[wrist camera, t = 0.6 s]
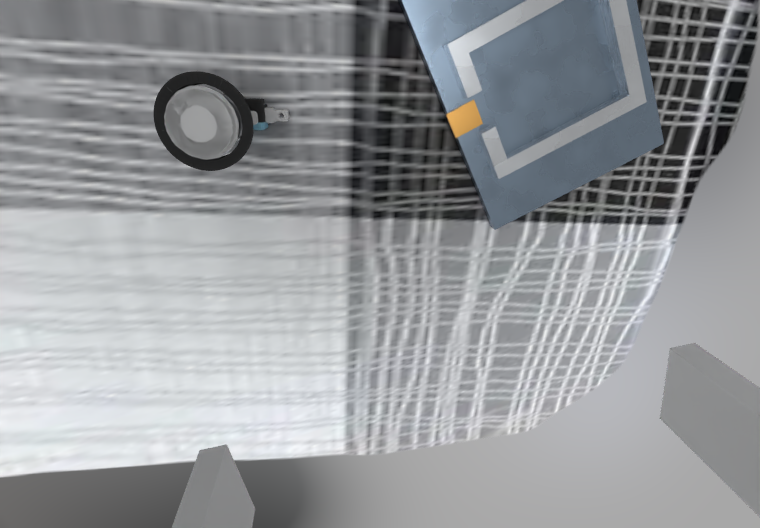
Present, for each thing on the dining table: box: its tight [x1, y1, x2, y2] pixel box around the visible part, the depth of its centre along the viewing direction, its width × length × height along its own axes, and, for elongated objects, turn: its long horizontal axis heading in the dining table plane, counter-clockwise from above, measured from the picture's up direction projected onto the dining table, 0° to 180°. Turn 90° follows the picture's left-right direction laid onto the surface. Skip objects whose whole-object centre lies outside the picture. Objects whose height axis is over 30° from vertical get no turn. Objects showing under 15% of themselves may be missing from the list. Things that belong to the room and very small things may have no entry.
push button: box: [154, 72, 289, 171], centre depth 27 cm, size 7×5×10 cm
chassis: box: [398, 0, 664, 229], centre depth 32 cm, size 20×16×2 cm
